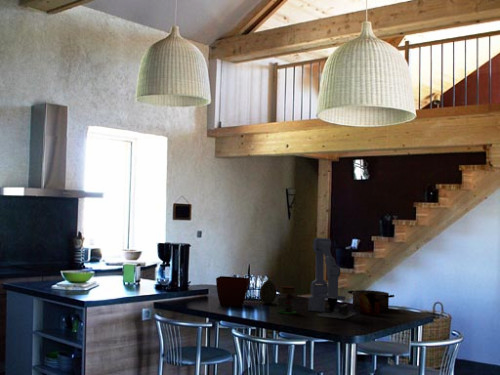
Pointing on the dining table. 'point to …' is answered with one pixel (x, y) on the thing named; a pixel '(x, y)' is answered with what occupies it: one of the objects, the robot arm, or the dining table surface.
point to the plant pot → (232, 290)
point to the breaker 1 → (342, 309)
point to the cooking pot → (380, 295)
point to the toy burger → (286, 300)
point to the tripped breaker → (327, 309)
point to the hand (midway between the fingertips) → (332, 311)
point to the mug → (368, 304)
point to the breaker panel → (337, 314)
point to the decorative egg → (268, 292)
